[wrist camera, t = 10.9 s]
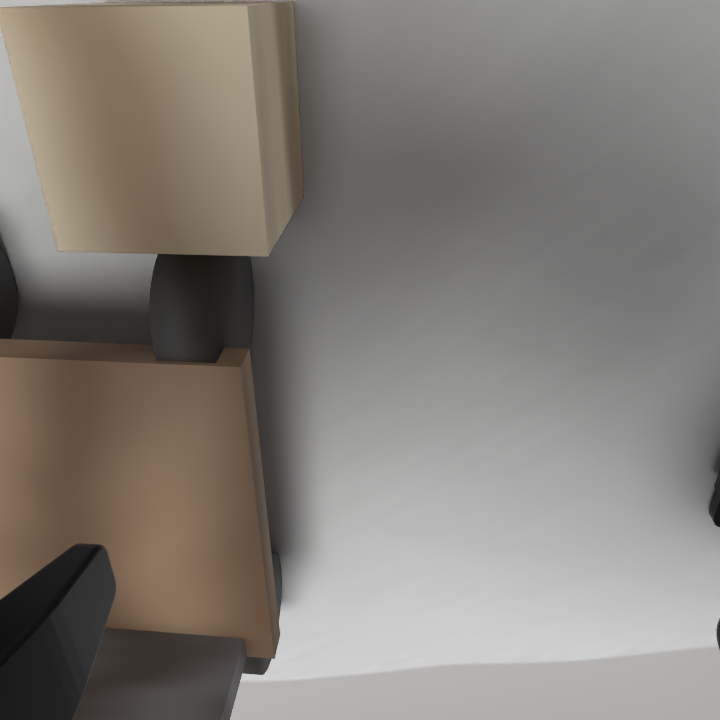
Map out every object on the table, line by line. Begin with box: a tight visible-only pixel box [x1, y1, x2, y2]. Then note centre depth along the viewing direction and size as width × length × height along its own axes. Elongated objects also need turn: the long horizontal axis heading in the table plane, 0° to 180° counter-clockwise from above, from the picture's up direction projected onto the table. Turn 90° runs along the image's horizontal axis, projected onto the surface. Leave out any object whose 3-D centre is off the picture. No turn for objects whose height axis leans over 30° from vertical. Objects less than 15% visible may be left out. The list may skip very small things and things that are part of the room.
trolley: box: [0, 247, 282, 720], centre depth 20 cm, size 11×17×8 cm, turn 0°
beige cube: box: [0, 2, 304, 257], centre depth 16 cm, size 5×5×5 cm
